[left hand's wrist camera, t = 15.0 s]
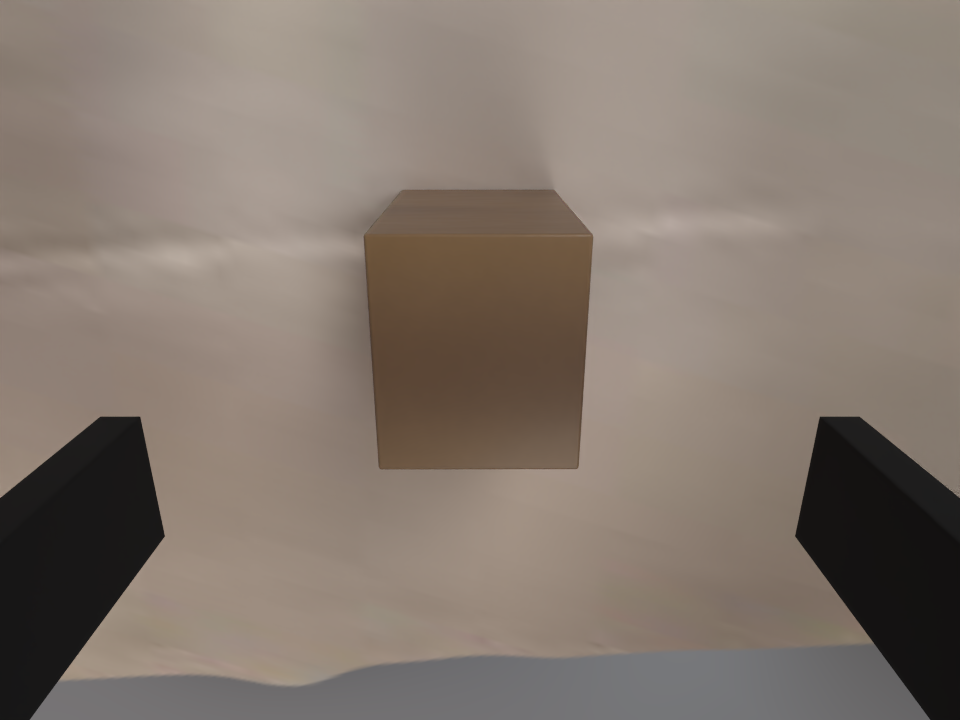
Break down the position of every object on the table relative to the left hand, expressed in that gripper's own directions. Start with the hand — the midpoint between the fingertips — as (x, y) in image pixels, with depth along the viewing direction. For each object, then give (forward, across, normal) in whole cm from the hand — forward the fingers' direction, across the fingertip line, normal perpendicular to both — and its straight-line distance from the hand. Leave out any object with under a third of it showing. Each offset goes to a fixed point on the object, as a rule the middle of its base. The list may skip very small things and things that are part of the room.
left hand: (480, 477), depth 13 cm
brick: (+15, 0, 0) cm, 15 cm away
